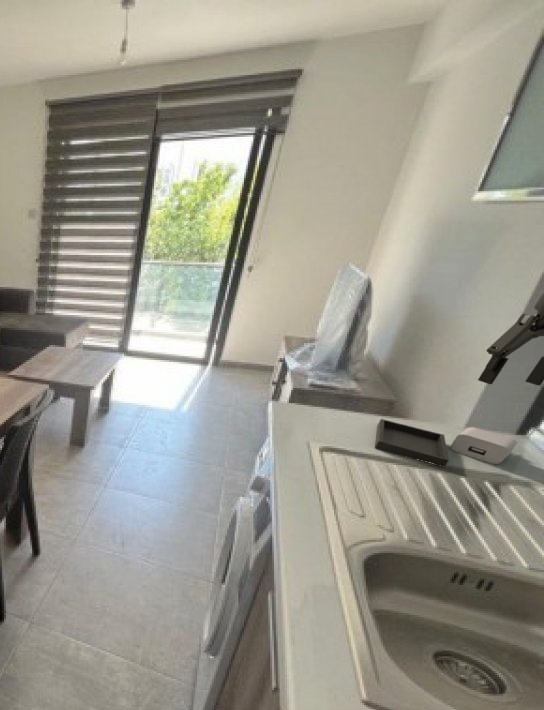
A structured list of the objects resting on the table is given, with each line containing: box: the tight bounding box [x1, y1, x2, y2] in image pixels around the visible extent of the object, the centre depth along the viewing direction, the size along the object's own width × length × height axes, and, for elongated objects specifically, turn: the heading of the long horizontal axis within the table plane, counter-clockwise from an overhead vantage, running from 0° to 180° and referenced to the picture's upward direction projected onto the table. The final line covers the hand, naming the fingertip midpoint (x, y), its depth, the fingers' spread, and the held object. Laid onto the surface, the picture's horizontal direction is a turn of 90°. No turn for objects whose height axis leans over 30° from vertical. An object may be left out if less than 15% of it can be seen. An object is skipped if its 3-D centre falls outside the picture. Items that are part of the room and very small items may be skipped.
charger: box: [449, 426, 518, 465], centre depth 121 cm, size 5×9×15 cm
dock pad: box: [374, 418, 450, 468], centre depth 122 cm, size 13×19×2 cm
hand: (508, 383), depth 119 cm, fingers open, 13 cm apart
